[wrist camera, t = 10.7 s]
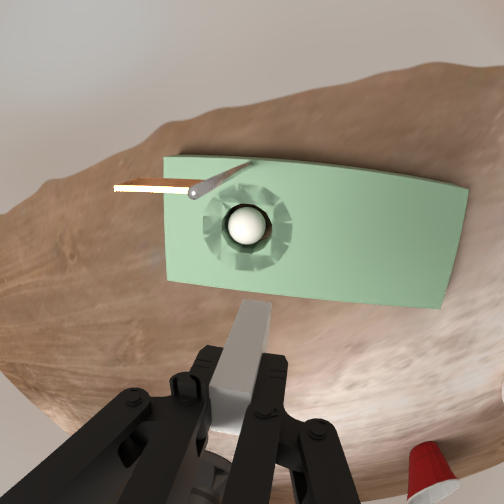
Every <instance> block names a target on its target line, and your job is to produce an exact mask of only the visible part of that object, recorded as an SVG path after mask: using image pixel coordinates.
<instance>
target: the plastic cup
mask: <svg viewBox="0 0 504 504" xmlns="http://www.w3.org/2000/svg"><path fill="white" fill-rule="evenodd" d="M460 486H461V481H460V480H458V479H457V478H456V476H455V475H454V474H453V472H452V471H451V469H450V467H449V465H448V463H447V461H446V459H445V458H444V456H443V454H442V453H441V451H440V449H439V447H438V445H437V444H436V443H435V442H430V441H429V442H424V443H422V444H419V445H417V446H416V447H414V448H413V449H412V450H411V452H410V456H409V483H408V496H407V502H406V504H434V503H436V502H439V501H441V500H443V499H444V498H446V497H448V496H449V495H451V494H452V493H454V492H455V491H456V490H457V489H458V488H459V487H460Z"/></svg>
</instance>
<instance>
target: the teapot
mask: <svg viewBox="0 0 504 504" xmlns="http://www.w3.org/2000/svg"><path fill="white" fill-rule="evenodd" d="M502 399H503V403H504V381H503V386H502Z"/></svg>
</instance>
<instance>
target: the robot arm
mask: <svg viewBox="0 0 504 504" xmlns="http://www.w3.org/2000/svg"><path fill="white" fill-rule="evenodd" d="M271 307H272V302H264V301H255V300H247V299H243V301H242V303H241V306H240V308H239V311H238V313H237V316H236V319H235V321H234V324H233V326H232V329H231V331H230V334H229V336H228V339H227V341H226V344H225V346H224V348H222V347H216V346H210V345H207V346H205V347H204V348H203V349H201V350H200V351H199V353H198V355H197V357H196V360H195V361H194V363H193V366H192V367H191V369H190V371H189V372H181V373H177V374H175V375H173V376H172V377H171V378H170V380H169V382H170V388H171V394H172V395H170V396H165V397H150V396H149V394H148V392H146V391H145V390H144V389H141V388H128V389H125V390H124V391H122V392H120V393H119V394H118V395H117V396H116V397H115V398H114V399H113V400H112V401H110V402H109V403H108V404H107V405H106V406H105V407H104V408H103V409H101V410H100V411H99V412H98V413H97V414H96V415H95V416H94V417H92V418H91V419H90V420H89V421H88V422H87V423H86V424H85V425H83V426H82V427H81V428H80V429H79V430H78V431H77V432H75V433H74V434H73V435H72V436H71V437H70V438H69V439H68V440H66V442H64V443H63V444H62V445H61V446H60V447H59V448H57V449H56V450H55V451H54V452H53V453H51V454H50V455H49V456H48V457H47V458H46V459H45V460H44V461H42V462H41V463H40V464H39V465H38V466H37V467H35V468H34V469H33V470H32V471H31V472H30V473H28V474H27V475H26V476H25V477H24V478H23V479H21V480H20V481H19V482H18V483H17V484H16V485H14V486H13V487H12V488H11V489H10V490H9V491H7V492H6V493H5V494H4V495H3V496H2V497H0V504H269V499H270V493H271V487H272V481H273V475H274V469H275V463H276V464H278V465H281V466H283V467H286V468H288V469H289V471H290V476H291V481H292V487H293V492H294V497H295V502H296V504H361V503H360V500H359V497H358V494H357V491H356V488H355V485H354V482H353V479H352V476H351V473H350V470H349V467H348V464H347V461H346V458H345V455H344V452H343V449H342V446H341V443H340V440H339V437H338V434H337V431H336V429H335V427H334V426H333V424H331V423H330V422H329V421H326V420H324V419H316V418H314V419H310V420H307V421H306V422H302V421H299V420H296V419H294V418H292V417H291V416H290V415H288V414H287V412H286V411H285V409H284V404H283V403H284V395H285V386H286V378H287V369H288V362H287V360H286V358H285V356H284V355H277V354H269V353H266V351H267V346H268V338H269V328H270V318H271ZM210 425H211V430H212V431H217V432H222V433H228V434H233V435H239V439H238V443H237V447H236V450H235V454H234V458H233V462H232V464H231V463H230V462H228V461H227V460H225V459H224V458H222V457H220V456H218V455H215V454H213V453H210V452H207V451H205V448H206V445H207V442H208V431H209V428H210Z"/></svg>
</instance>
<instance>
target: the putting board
mask: <svg viewBox="0 0 504 504" xmlns="http://www.w3.org/2000/svg"><path fill="white" fill-rule="evenodd" d="M248 161H251V162H252V163H253V167H252V168H250V169H248V170H247V171H245V172H243V173H241V174H240V175H238V176H236V177H234V178H232V179H231V180H229V181H227V182H226V183H224V184H222V185H220V186H219V187H217V188H215V189H214V190H212V191H210V192H208V193H207V194H205V195H203V196H202V197H200V198H198V199H197V200H192V199H190V198H189V197H188V195H187V194H186V193H166V192H164V224H165V249H166V268H167V280H168V281H175V282H182V283H189V284H196V285H204V286H211V287H219V288H226V289H234V290H242V291H250V292H259V293H267V294H276V295H285V296H294V297H303V298H313V299H323V300H333V301H343V302H354V303H365V304H377V305H389V306H402V307H416V308H431V309H440V308H441V305H442V302H443V299H444V295H445V292H446V289H447V286H448V282H449V279H450V275H451V271H452V268H453V264H454V260H455V256H456V252H457V248H458V244H459V240H460V235H461V231H462V226H463V221H464V216H465V210H466V205H467V199H468V193H469V189H466V188H464V187H461V186H459V185H456V184H453V183H448V182H443V181H438V180H433V179H428V178H422V177H417V176H411V175H405V174H399V173H393V172H387V171H380V170H374V169H367V168H359V167H352V166H344V165H336V164H327V163H318V162H308V161H297V160H286V159H273V158H259V157H242V156H220V155H172V156H166V157H164V178H176V179H200V180H206V179H209V178H211V177H213V176H215V175H218V174H220V173H222V172H224V171H227V170H229V169H231V168H234V167H236V166H238V165H241V164H243V163H246V162H248ZM240 203H243V204H255V205H256V206H258V207H259V208H261V209H262V210H264V211H265V212H266V213H267V215H268V217H269V219H270V221H271V223H272V225H273V226H272V233H271V234H270V236H269V237H268V238H266V239H263V240H261V241H259V242H255V243H253V244H241V243H239V242H237V241H235V240H234V239H233V238H232V236H231V235H230V233H229V229H228V222H229V219H230V211H231V209H232V208H233V207H234V206H236V205H238V204H240Z"/></svg>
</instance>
